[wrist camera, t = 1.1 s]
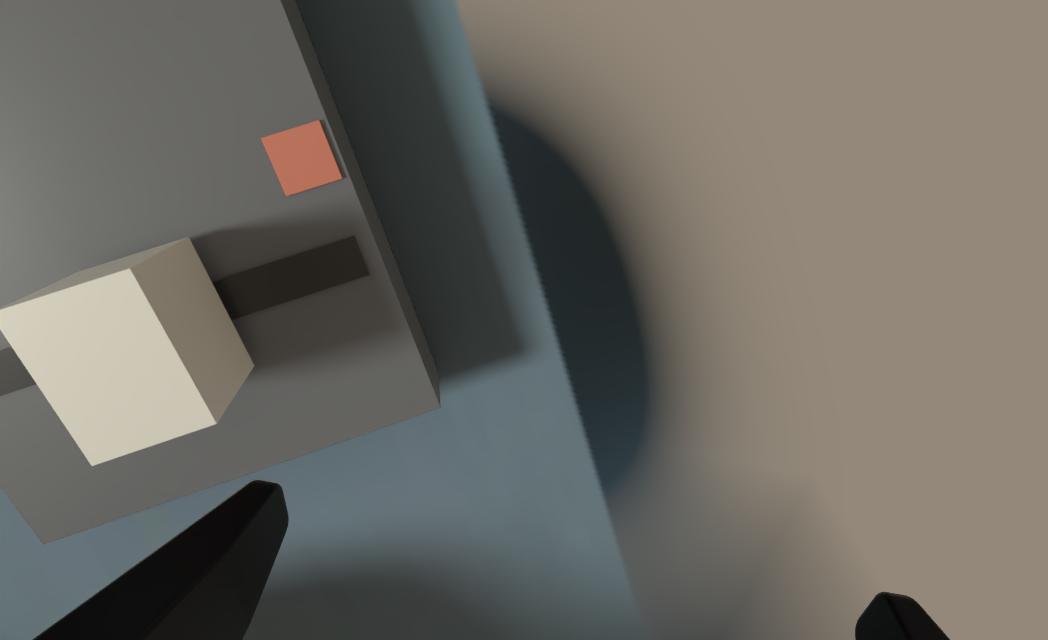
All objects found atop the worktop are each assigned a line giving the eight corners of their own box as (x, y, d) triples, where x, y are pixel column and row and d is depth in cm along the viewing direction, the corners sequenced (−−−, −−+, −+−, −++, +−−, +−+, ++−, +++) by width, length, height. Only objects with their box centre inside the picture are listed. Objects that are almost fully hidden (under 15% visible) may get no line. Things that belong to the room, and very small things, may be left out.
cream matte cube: (153, 399, 17) (91, 466, 14) (77, 272, 16) (-11, 313, 13) (254, 365, 17) (216, 423, 14) (188, 236, 16) (129, 268, 13)
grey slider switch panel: (92, 488, 21) (41, 546, 19) (-509, -394, 13) (-777, -540, 10) (437, 370, 22) (440, 409, 19) (88, -537, 14) (-1, -714, 11)
